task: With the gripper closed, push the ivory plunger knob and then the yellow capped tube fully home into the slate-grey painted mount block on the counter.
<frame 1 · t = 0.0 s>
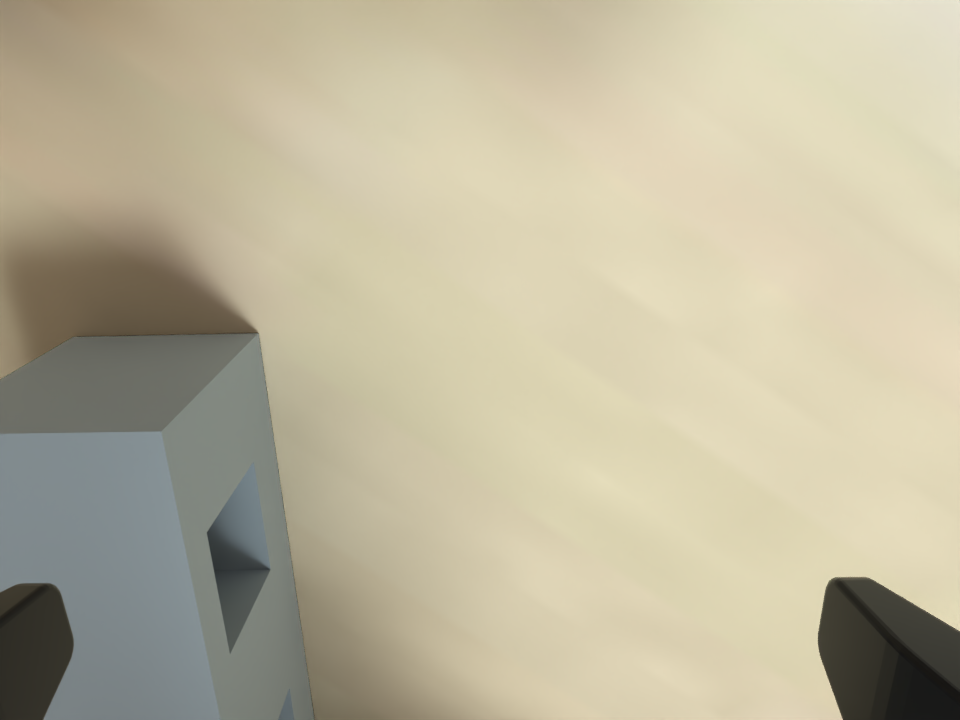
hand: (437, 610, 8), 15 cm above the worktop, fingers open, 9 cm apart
mount: (215, 592, 27), on the worktop
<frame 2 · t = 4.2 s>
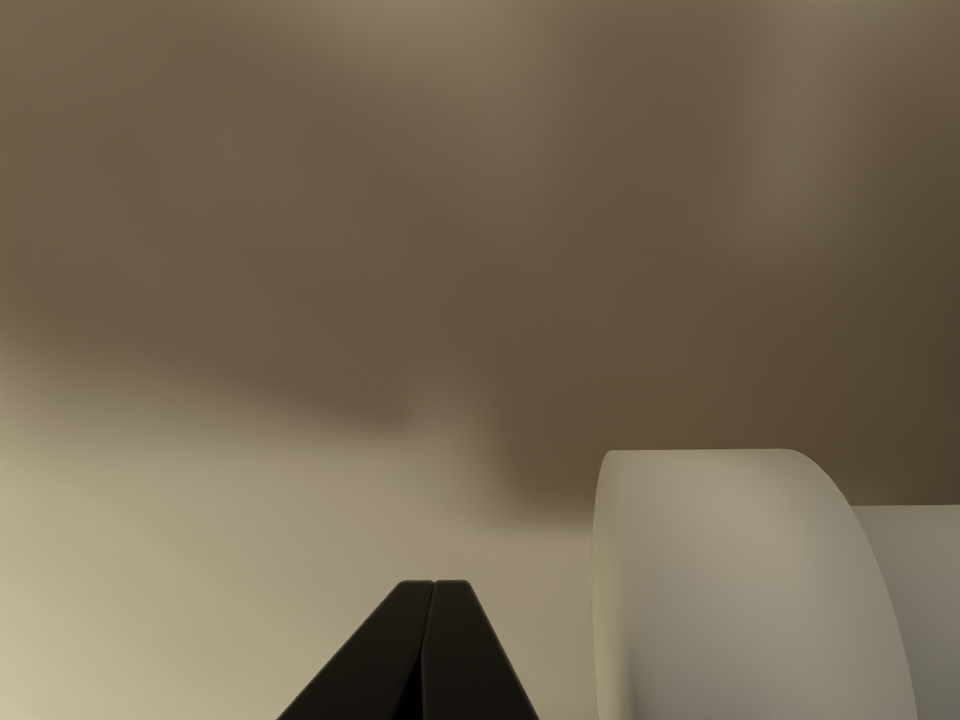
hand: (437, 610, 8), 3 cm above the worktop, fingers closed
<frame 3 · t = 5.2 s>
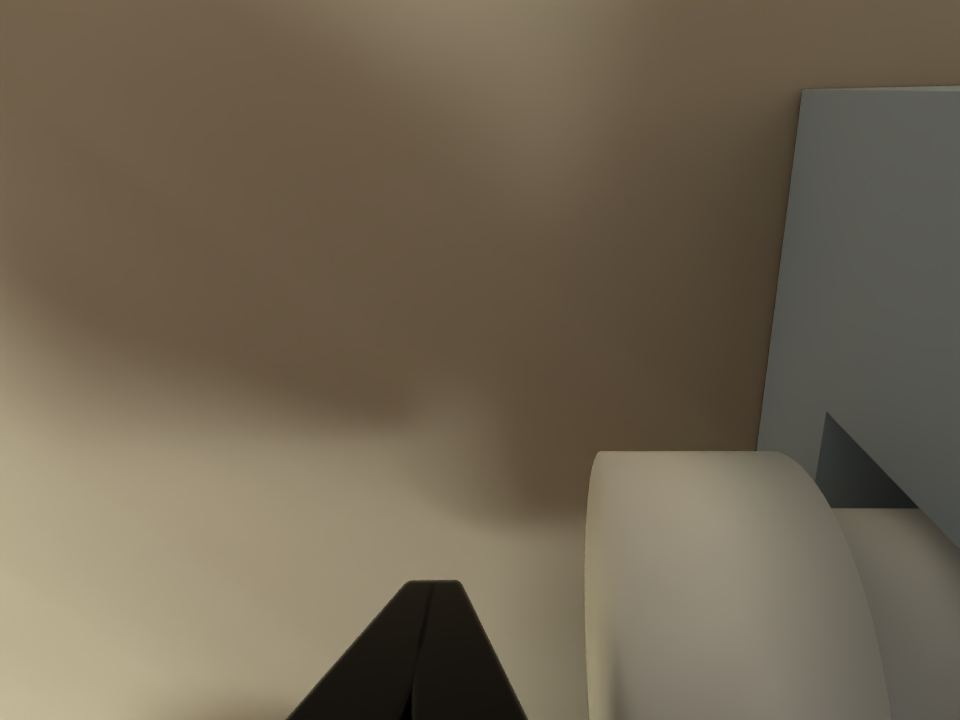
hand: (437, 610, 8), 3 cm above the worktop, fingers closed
mount: (901, 704, 12), on the worktop
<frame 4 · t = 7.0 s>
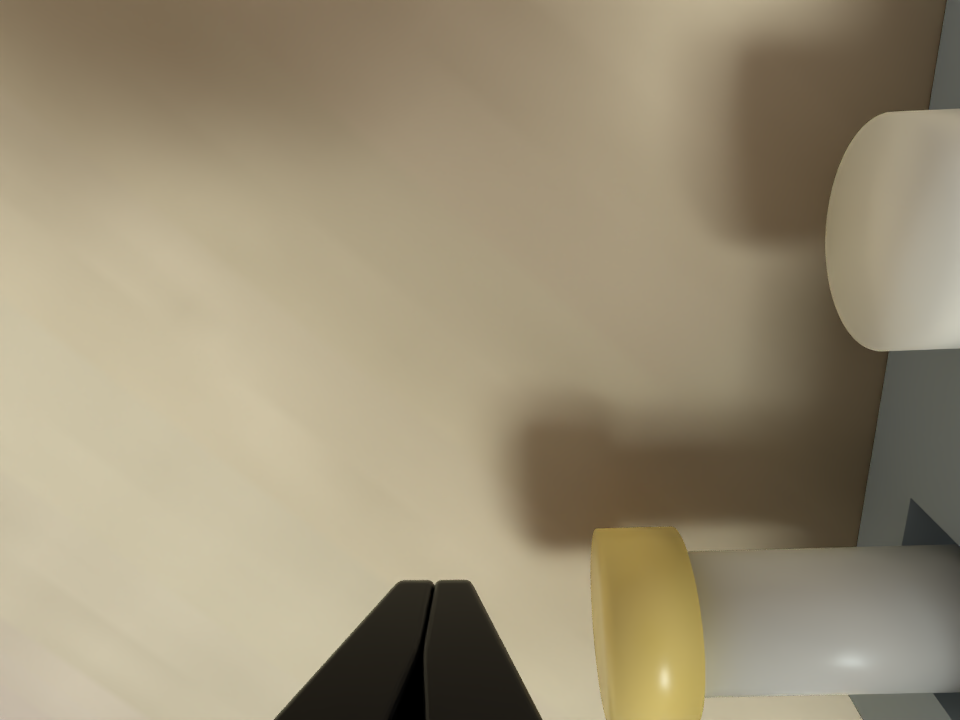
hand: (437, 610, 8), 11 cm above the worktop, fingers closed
yellow capped tube: (791, 619, 17), point 4 cm above the worktop, slide at 5.0 cm
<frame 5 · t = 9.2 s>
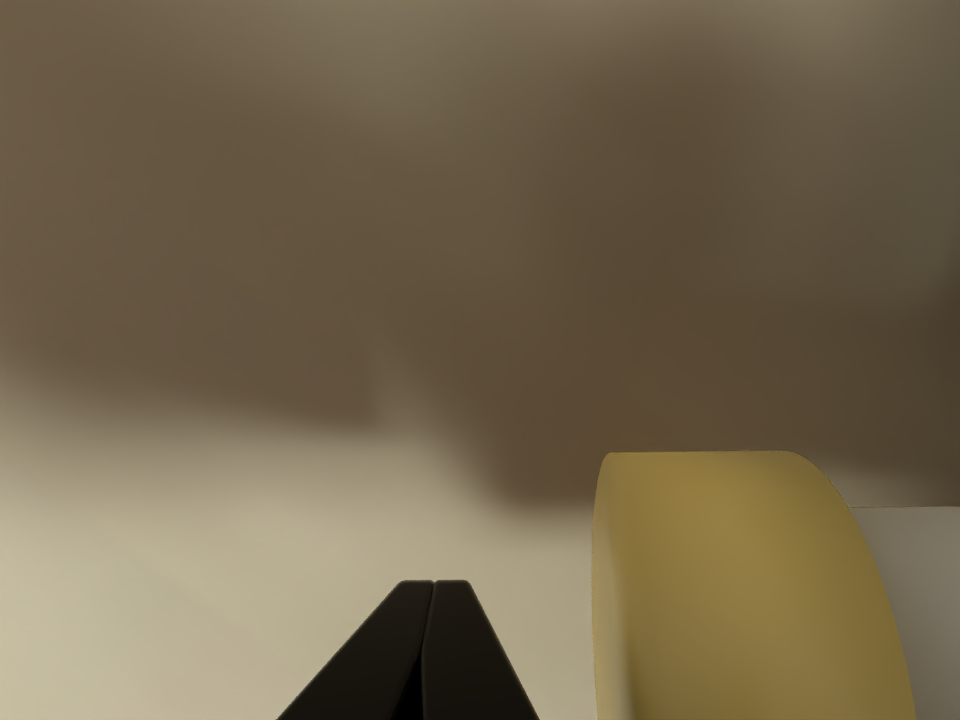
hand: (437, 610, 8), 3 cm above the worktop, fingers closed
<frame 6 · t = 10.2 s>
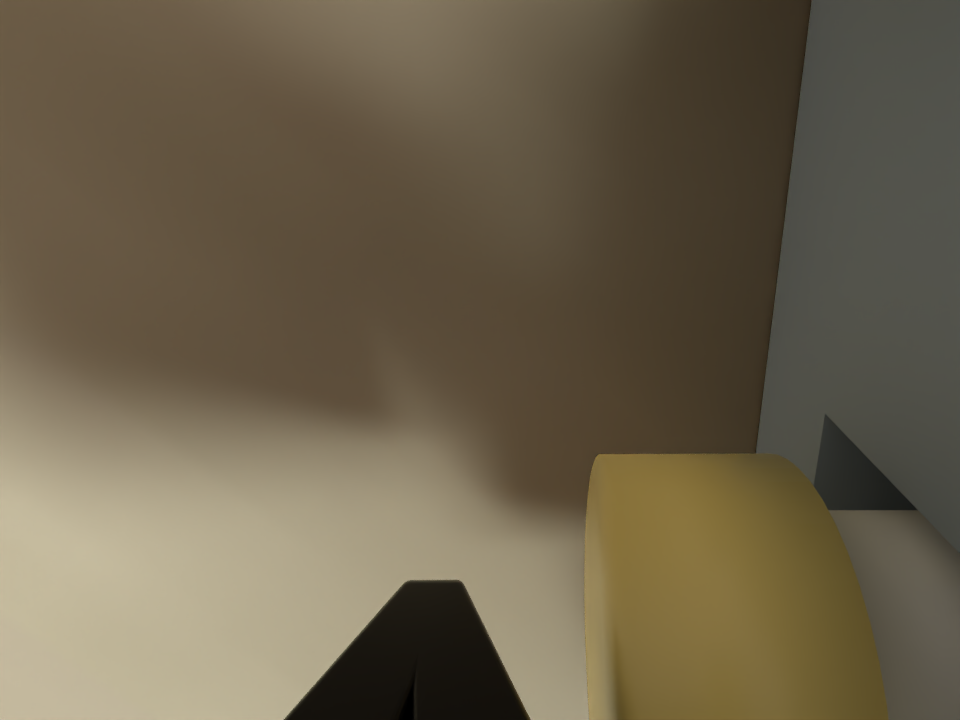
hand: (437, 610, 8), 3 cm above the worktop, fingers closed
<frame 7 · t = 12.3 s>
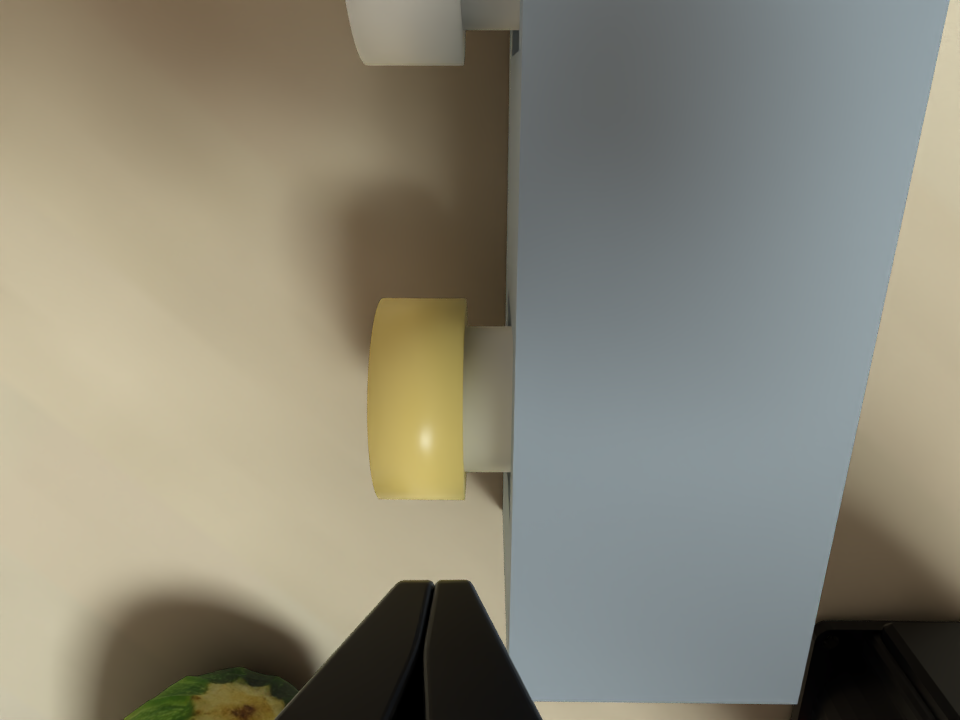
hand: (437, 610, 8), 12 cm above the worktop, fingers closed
mount: (629, 168, 18), on the worktop
yellow capped tube: (583, 399, 16), point 4 cm above the worktop, slide at 0.0 cm
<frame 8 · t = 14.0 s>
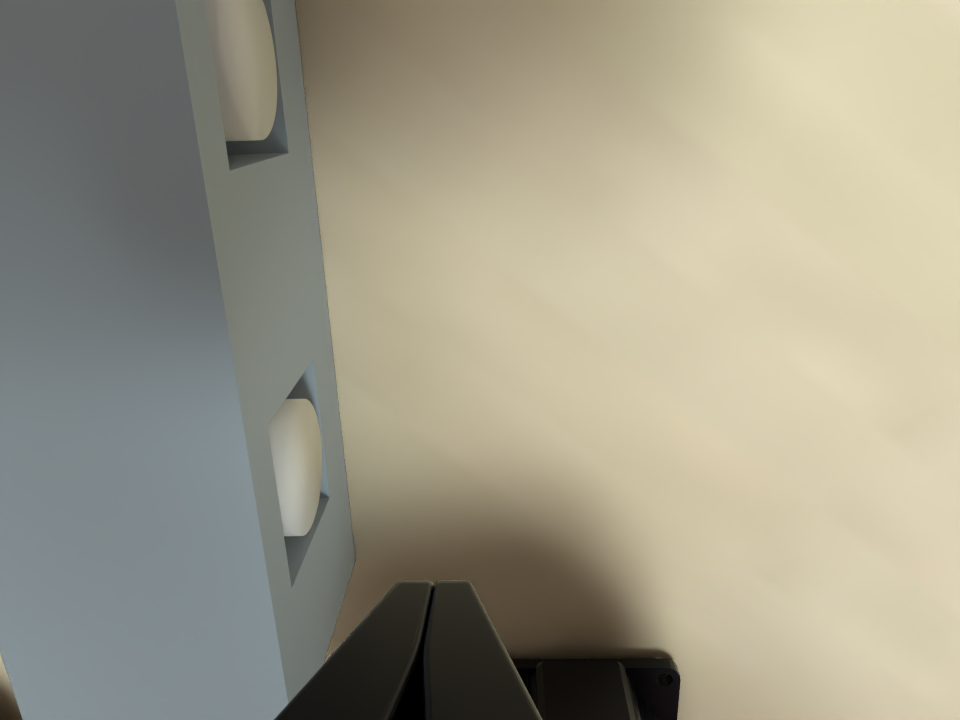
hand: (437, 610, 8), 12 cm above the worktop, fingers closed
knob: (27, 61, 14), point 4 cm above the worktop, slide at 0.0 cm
mount: (209, 247, 19), on the worktop
yellow capped tube: (122, 468, 17), point 4 cm above the worktop, slide at 0.0 cm
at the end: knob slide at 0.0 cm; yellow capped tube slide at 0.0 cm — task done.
